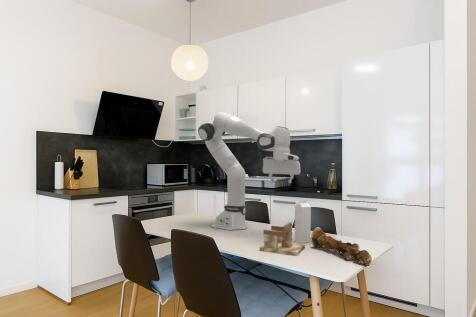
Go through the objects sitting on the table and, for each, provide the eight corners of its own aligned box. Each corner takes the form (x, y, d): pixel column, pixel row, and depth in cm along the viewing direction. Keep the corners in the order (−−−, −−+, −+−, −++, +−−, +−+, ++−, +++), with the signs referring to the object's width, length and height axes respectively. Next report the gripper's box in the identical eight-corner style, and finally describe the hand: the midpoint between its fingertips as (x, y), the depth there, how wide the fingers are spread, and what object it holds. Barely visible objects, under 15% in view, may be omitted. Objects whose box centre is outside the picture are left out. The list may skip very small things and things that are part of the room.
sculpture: (316, 255, 165) (367, 271, 133) (303, 234, 163) (351, 244, 131) (328, 245, 168) (380, 257, 136) (315, 223, 166) (364, 231, 134)
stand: (259, 250, 154) (259, 232, 154) (270, 243, 169) (270, 226, 169) (296, 255, 147) (297, 236, 147) (304, 247, 162) (305, 230, 162)
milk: (294, 240, 175) (294, 199, 176) (303, 239, 178) (303, 199, 179) (301, 243, 170) (302, 201, 170) (310, 242, 173) (311, 200, 173)
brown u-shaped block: (263, 234, 155) (263, 224, 155) (271, 229, 167) (272, 220, 167) (284, 236, 151) (284, 227, 151) (291, 231, 163) (292, 222, 163)
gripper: (261, 156, 176) (260, 182, 176) (298, 156, 168) (298, 183, 167) (265, 156, 182) (264, 181, 182) (301, 157, 173) (301, 183, 173)
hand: (281, 182), depth 174 cm, fingers open, 8 cm apart
